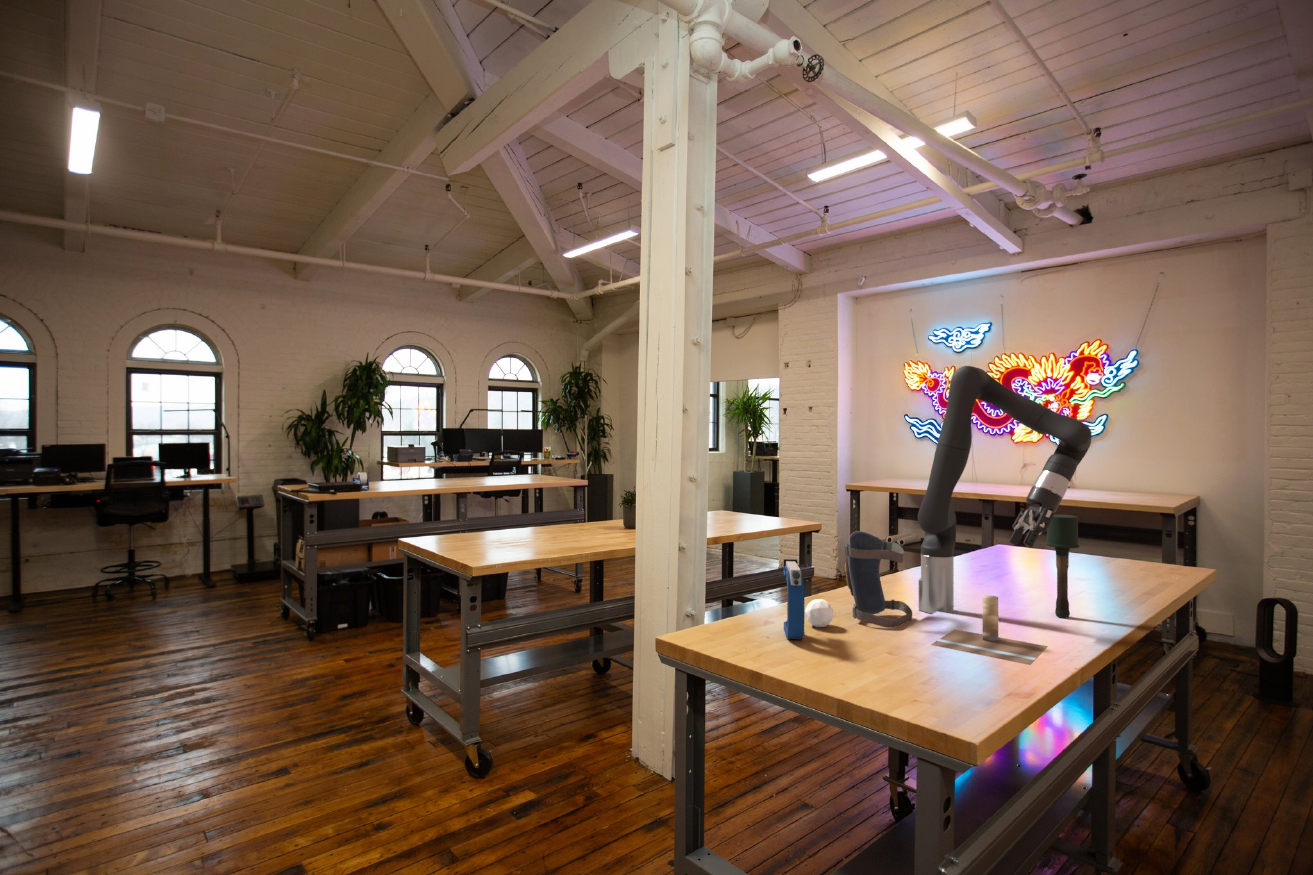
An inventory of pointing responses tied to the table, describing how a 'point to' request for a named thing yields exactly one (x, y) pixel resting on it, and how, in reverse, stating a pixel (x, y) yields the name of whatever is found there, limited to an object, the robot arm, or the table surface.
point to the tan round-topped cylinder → (990, 618)
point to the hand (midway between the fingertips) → (1019, 544)
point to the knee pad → (871, 578)
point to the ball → (819, 613)
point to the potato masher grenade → (1062, 555)
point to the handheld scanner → (794, 600)
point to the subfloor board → (991, 646)
